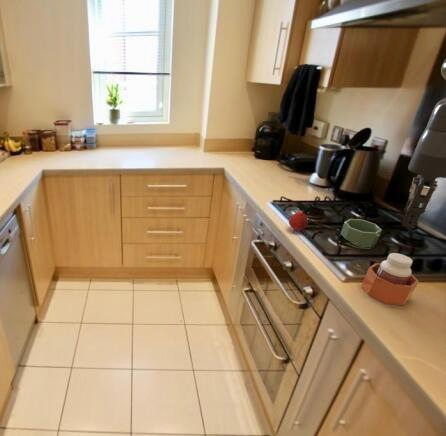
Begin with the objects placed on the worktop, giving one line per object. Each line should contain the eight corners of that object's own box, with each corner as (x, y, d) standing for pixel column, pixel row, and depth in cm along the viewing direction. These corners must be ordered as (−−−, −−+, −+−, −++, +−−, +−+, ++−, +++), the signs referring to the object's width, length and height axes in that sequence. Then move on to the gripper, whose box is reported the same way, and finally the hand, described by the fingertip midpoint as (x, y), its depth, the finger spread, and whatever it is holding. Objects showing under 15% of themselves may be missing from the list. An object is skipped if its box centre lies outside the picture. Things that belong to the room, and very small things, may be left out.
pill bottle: (404, 301, 81) (423, 266, 76) (378, 299, 82) (394, 264, 77) (390, 285, 86) (406, 252, 81) (365, 283, 87) (380, 250, 82)
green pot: (366, 235, 110) (372, 220, 107) (379, 250, 102) (386, 234, 99) (336, 233, 112) (341, 218, 109) (347, 247, 103) (352, 231, 101)
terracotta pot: (395, 283, 87) (403, 265, 84) (415, 307, 79) (425, 288, 76) (356, 279, 89) (364, 261, 86) (372, 302, 81) (381, 283, 78)
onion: (295, 225, 117) (301, 206, 113) (308, 233, 112) (314, 213, 108) (283, 228, 115) (288, 208, 111) (295, 236, 110) (301, 215, 107)
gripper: (466, 163, 59) (429, 237, 67) (461, 146, 69) (430, 213, 76) (414, 156, 64) (385, 226, 71) (416, 141, 73) (390, 205, 81)
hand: (408, 219), depth 74 cm, fingers open, 8 cm apart
